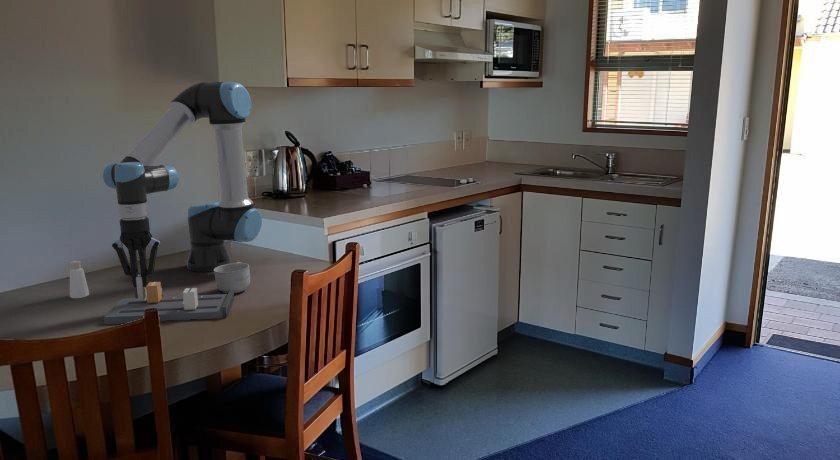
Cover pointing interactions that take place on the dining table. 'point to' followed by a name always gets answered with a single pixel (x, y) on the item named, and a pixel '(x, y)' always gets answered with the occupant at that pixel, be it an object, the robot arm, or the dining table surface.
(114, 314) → the console
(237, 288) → the teacup
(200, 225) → the robot arm
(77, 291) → the salt shaker
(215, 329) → the dining table surface
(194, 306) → the fader ivory
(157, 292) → the fader orange
